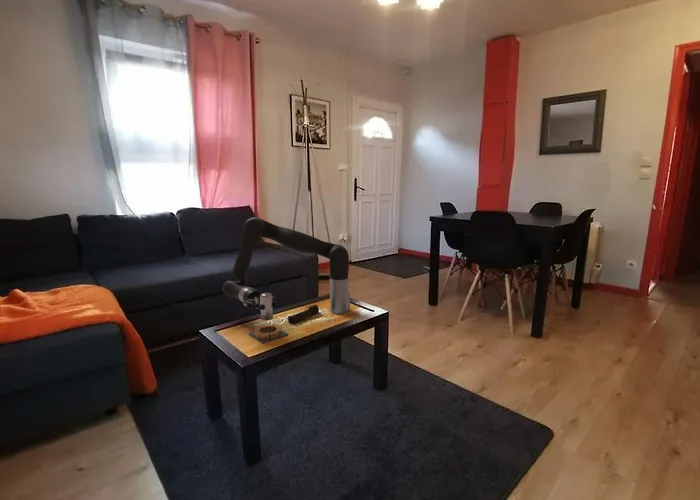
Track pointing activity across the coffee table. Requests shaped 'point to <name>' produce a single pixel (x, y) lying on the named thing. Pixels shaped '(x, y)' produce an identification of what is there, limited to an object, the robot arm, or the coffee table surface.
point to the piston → (266, 306)
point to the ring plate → (268, 333)
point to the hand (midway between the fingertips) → (269, 306)
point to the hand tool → (303, 314)
